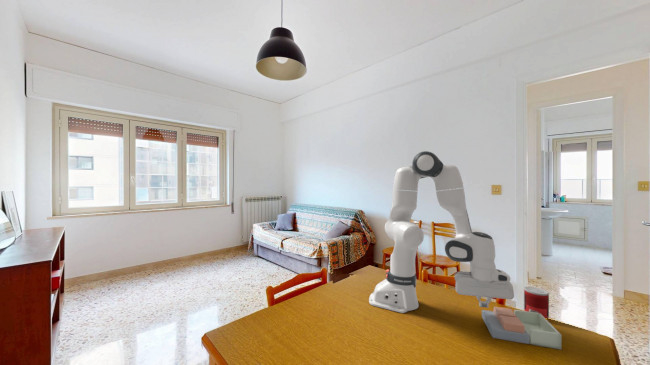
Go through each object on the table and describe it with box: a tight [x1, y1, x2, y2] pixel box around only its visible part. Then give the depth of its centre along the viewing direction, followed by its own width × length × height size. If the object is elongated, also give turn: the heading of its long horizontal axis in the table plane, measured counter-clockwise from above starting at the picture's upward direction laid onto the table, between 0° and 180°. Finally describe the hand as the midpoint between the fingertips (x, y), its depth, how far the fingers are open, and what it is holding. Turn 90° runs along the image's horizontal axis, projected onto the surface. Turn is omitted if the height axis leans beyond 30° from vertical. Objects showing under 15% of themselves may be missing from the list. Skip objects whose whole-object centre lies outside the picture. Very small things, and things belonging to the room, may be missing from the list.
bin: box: [513, 309, 562, 350], centre depth 94 cm, size 9×15×5 cm, turn 161°
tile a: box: [493, 306, 517, 320], centre depth 100 cm, size 6×6×2 cm
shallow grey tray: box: [481, 309, 530, 345], centre depth 97 cm, size 11×15×3 cm
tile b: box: [499, 315, 525, 333], centre depth 93 cm, size 6×6×2 cm
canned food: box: [523, 286, 550, 320], centre depth 107 cm, size 8×8×11 cm
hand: (483, 306), depth 103 cm, fingers closed
